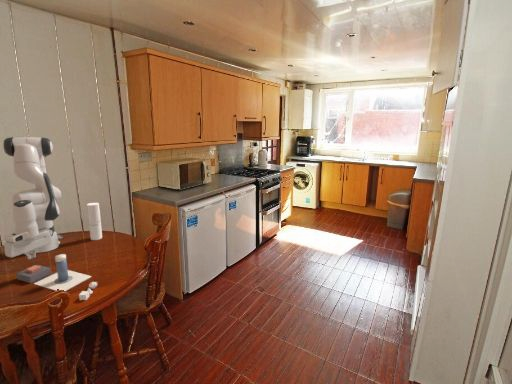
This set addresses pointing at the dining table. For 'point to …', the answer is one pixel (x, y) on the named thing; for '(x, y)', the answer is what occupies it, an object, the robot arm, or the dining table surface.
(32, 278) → the button housing
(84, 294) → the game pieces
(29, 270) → the button
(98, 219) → the cylindrical container
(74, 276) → the paper sheet
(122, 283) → the dining table surface
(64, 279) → the blue and white cylinder
